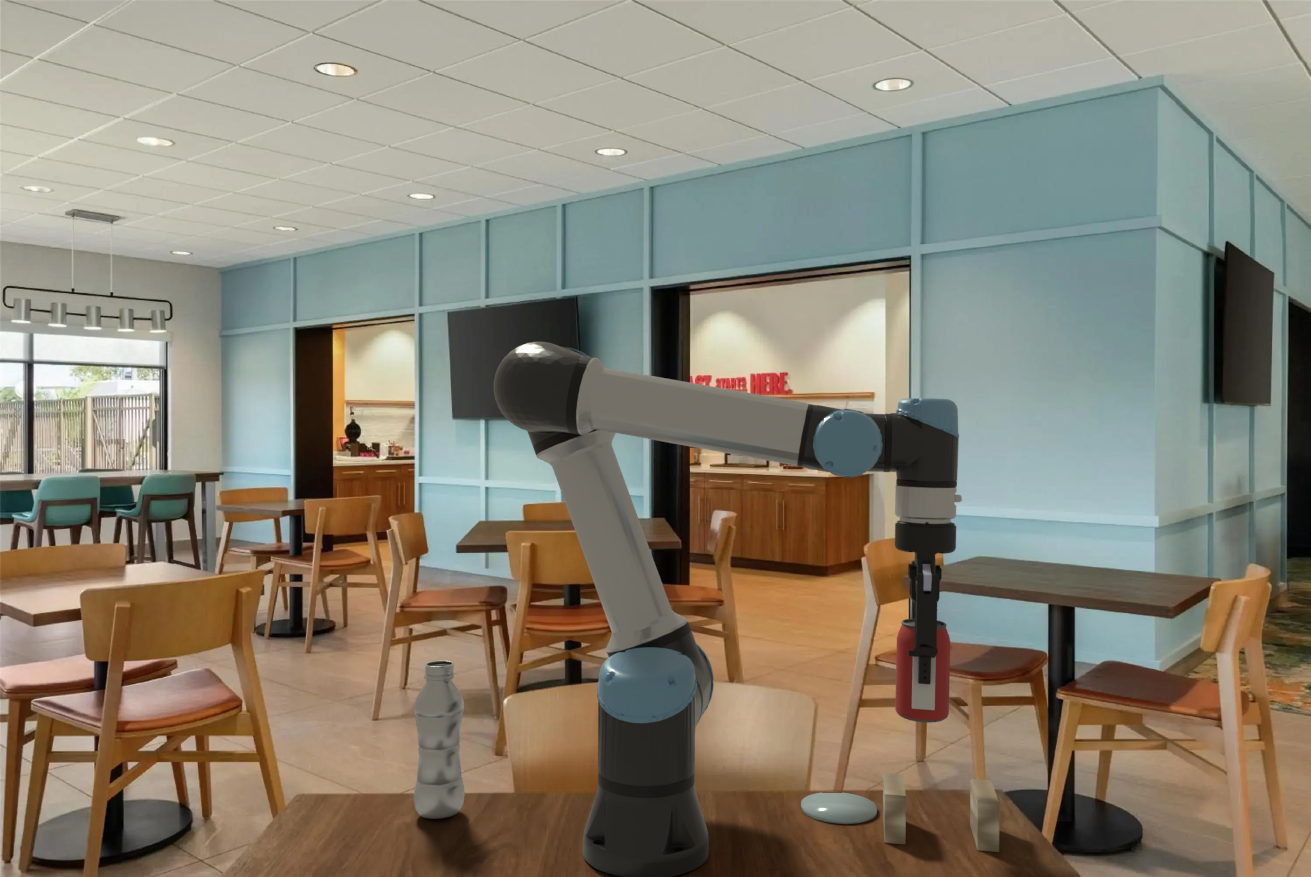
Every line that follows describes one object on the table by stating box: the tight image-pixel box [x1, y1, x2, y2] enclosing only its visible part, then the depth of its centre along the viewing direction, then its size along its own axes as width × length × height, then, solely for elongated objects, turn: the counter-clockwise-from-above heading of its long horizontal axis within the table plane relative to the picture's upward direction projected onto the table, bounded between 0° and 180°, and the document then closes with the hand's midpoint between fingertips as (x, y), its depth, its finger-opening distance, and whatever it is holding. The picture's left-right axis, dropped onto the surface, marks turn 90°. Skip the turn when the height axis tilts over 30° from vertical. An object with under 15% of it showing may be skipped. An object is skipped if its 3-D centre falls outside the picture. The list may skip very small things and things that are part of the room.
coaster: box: [800, 792, 878, 825], centre depth 137 cm, size 10×10×1 cm
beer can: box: [894, 618, 951, 724], centre depth 129 cm, size 7×7×12 cm
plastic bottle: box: [413, 660, 466, 820], centre depth 134 cm, size 6×7×20 cm
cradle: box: [882, 772, 1000, 853], centre depth 128 cm, size 14×8×6 cm, turn 79°
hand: (921, 700), depth 129 cm, fingers closed on beer can, 7 cm apart
